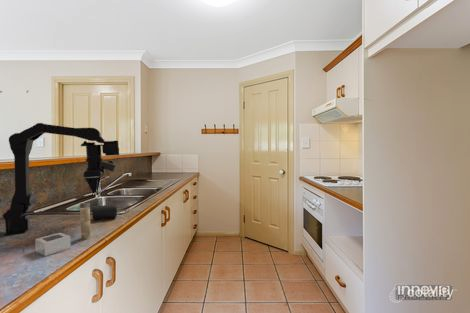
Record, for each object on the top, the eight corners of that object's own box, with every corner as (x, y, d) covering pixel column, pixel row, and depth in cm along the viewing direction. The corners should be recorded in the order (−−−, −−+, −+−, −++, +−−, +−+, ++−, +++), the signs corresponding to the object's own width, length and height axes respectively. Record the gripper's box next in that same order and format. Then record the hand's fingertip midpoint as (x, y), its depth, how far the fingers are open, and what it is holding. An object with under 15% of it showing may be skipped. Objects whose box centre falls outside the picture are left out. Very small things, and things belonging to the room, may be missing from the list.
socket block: (35, 251, 79) (35, 239, 79) (60, 243, 85) (60, 232, 85) (45, 256, 76) (44, 243, 75) (70, 248, 82) (70, 236, 82)
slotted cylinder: (80, 240, 89) (79, 205, 88) (81, 237, 91) (80, 203, 91) (90, 238, 90) (89, 204, 89) (90, 236, 93) (90, 202, 92)
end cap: (92, 222, 109) (92, 208, 109) (92, 219, 115) (92, 204, 115) (117, 219, 114) (116, 205, 114) (115, 215, 120) (115, 202, 120)
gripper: (113, 156, 103) (115, 192, 103) (115, 154, 120) (116, 186, 120) (82, 157, 98) (84, 195, 99) (89, 155, 115) (91, 188, 116)
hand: (96, 190), depth 109 cm, fingers open, 9 cm apart
